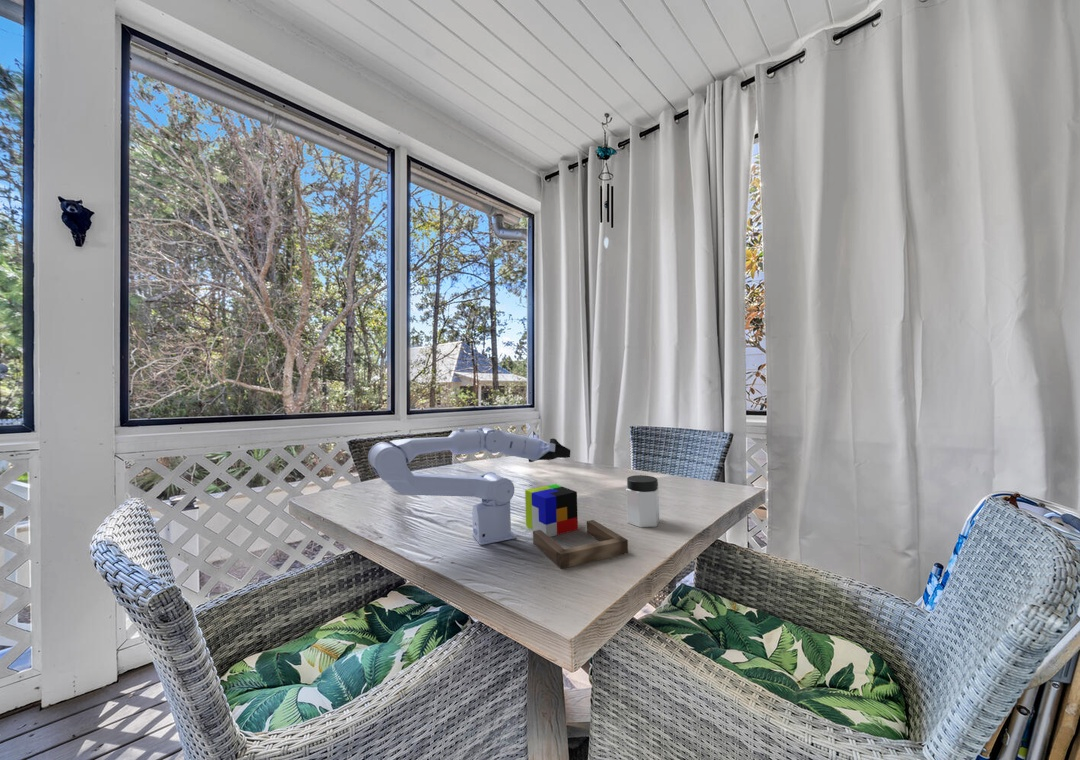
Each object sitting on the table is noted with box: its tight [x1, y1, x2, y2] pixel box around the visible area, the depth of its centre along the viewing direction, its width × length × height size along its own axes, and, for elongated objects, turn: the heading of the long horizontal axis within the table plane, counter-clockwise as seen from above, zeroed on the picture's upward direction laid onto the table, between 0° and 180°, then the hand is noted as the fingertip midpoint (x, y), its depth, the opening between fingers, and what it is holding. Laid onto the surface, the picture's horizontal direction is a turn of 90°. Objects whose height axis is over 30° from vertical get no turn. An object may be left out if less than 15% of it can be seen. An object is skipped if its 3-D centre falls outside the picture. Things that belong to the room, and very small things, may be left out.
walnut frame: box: [532, 519, 629, 570], centre depth 96 cm, size 17×15×3 cm
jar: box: [625, 474, 660, 528], centre depth 112 cm, size 9×8×12 cm
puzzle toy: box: [524, 483, 579, 538], centre depth 110 cm, size 10×10×10 cm
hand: (561, 454), depth 116 cm, fingers open, 7 cm apart
